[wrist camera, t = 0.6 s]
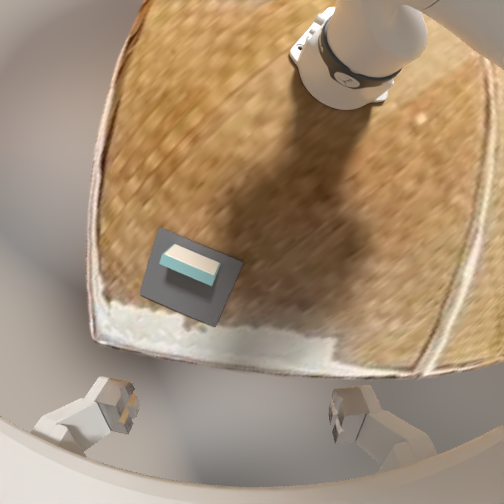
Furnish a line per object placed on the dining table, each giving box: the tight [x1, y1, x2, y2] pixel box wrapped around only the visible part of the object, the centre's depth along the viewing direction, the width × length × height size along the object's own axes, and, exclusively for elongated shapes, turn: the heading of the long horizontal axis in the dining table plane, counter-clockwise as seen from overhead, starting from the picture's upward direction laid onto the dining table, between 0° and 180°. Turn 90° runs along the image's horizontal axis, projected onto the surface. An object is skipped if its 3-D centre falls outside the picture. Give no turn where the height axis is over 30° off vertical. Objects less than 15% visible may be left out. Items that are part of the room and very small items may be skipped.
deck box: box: [159, 244, 221, 286], centre depth 46 cm, size 2×9×6 cm, turn 67°
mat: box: [140, 227, 243, 327], centre depth 50 cm, size 14×16×1 cm
